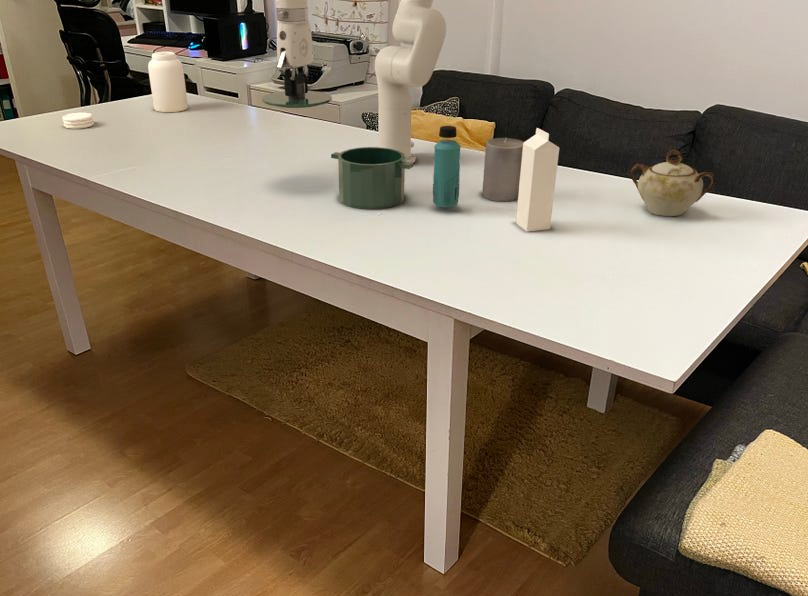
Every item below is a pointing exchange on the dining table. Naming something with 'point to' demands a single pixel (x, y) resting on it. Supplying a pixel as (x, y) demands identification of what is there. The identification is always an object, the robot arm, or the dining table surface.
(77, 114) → the white flat round stack
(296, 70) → the robot arm
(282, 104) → the lid
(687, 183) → the sugar bowl
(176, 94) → the white jar
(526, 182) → the milk
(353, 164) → the pot
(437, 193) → the beverage bottle
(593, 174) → the dining table surface
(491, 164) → the pillar candle
